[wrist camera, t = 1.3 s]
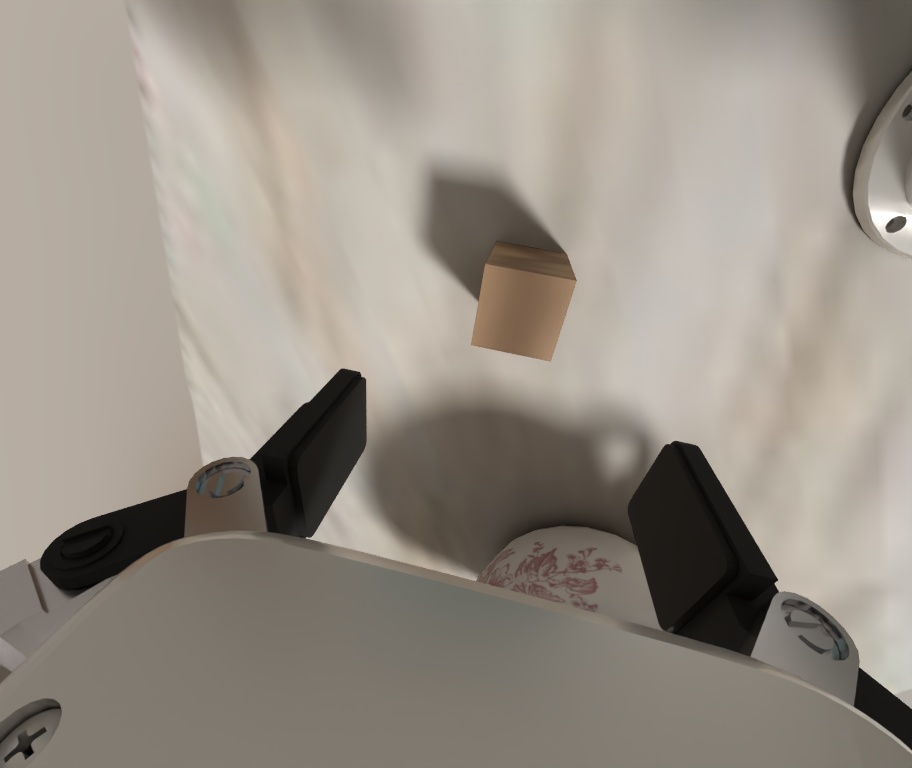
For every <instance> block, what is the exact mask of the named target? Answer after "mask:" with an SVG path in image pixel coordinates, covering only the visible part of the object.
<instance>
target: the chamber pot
mask: <svg viewBox="0 0 912 768" xmlns="http://www.w3.org/2000/svg"><path fill="white" fill-rule="evenodd" d="M477 582H480V583H484V584H488V585H492V586H496V587H500V588H503V589H507V590H511V591H515V592H519V593H522V594H526V595H530V596H534V597H538V598H542V599H545V600H549V601H553V602H557V603H561V604H564V605H568V606H572V607H576V608H579V609H583V610H587V611H590V612H594V613H598V614H602V615H605V616H609V617H613V618H617V619H620V620H624V621H628V622H632V623H635V624H639V625H643V626H647V627H650V628H654V629H658V630H661V631H664V630H662V629H661V627H660V626H659V623H658V620H657V616H656V613H655V609H654V605H653V602H652V598H651V594H650V591H649V587H648V584H647V580H646V576H645V573H644V569H643V566H642V562H641V558H640V555H639V551H638V547H637V546H636V545H634V544H632V543H631V542H629V541H627V540H625V539H623V538H621V537H619V536H617V535H615V534H613V533H609V532H605V531H601V530H597V529H593V528H589V527H579V526H555V527H548V528H542V529H536V530H534V531H532V532H529V533H527V534H525V535H522V536H520V537H518V538H516V539H514V540H512V541H511V542H510V543H509V544H508V545H507V546H506V547H505V548H504V549H503V550H501V551H500V552H499V553H498V555H497V556H496V557H495V558H494V559H493V560H492V561H491V562H490V564H489V565H488V566H487V567H486V568H485V569H484V570H483V571H482V573H481V574H480V575H479V576H478V578H477ZM665 632H666V631H665Z"/></svg>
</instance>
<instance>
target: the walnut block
mask: <svg viewBox="0 0 912 768" xmlns="http://www.w3.org/2000/svg"><path fill="white" fill-rule="evenodd" d="M576 281H577V280H576V278H575V275H574V272H573V270H572V267H571V264H570V261H569V259H568V256H567V254H565V253H559V252H554V251H548V250H542V249H537V248H531V247H526V246H520V245H514V244H509V243H503V242H498V241H497V242H496V244H495V246H494V248H493V249H492V251H491V253H490V255H489V257H488V259H487V261H486V263H485V267H484V273H483V279H482V285H481V290H480V296H479V302H478V308H477V314H476V319H475V325H474V331H473V337H472V342H471V345H473V346H478V347H483V348H488V349H493V350H497V351H502V352H507V353H512V354H517V355H522V356H527V357H531V358H536V359H541V360H546V361H551V359H552V356H553V353H554V350H555V347H556V343H557V340H558V337H559V334H560V331H561V328H562V325H563V322H564V319H565V316H566V312H567V309H568V306H569V303H570V300H571V297H572V294H573V291H574V288H575V284H576Z"/></svg>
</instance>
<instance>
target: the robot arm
mask: <svg viewBox="0 0 912 768" xmlns="http://www.w3.org/2000/svg"><path fill="white" fill-rule="evenodd" d="M903 111H904V112H903ZM853 200H854V207H855V214H856V216H857V218H858V220H859V222H860V224H861V227H862V229H863V231H864V232H865V233H866V234H867V235H868V236H869V237H870V238H871V239H872V240H873V241H874V242H875V243H876V244H878V245H879V246H881V247H883V248H885V249H886V250H888V251H890V252H892V253H895V254H899V255H902V256H905V257H909V258H912V71H911V72H910V74H909V75H908V76H907V77H906V78H905V79H904V80H903V82H902V83H901V84H900V85H899V86H898V87H897V89H896V90H895V92H894V93H893V95H892V96H891V98H890V99H889V101H888V102H887V104H886V105H885V107H884V108H883V110H882V111H881V112H880V114H879V115H878V117H877V119H876V121H875V123H874V125H873V127H872V129H871V131H870V133H869V135H868V137H867V139H866V141H865V143H864V145H863V148H862V151H861V154H860V157H859V160H858V164H857V167H856V170H855V177H854V186H853ZM366 440H367V434H366V379H365V378H364V377H361V373H360V372H357V371H353V370H348V369H340V370H339V371H338V372H337V373H336V374H335V376H334V377H333V378H332V379H331V380H330V381H329V382H328V383H327V384H326V385H325V386H324V387H323V388H322V389H321V390H320V391H319V392H318V393H317V394H316V396H315V397H314V398H313V399H312V400H311V401H310V402H307V403H305V404H303V405H302V406H301V407H300V408H299V409H298V410H297V411H296V412H295V413H294V414H293V415H292V416H291V417H290V418H289V419H288V420H287V422H286V423H285V424H284V425H283V426H282V427H281V428H280V429H279V430H278V431H277V432H276V433H275V434H274V435H273V436H272V437H271V438H270V439H269V440H268V441H267V442H266V443H265V444H264V445H263V446H262V447H261V448H260V449H259V450H258V451H257V453H256V454H255V455H254V456H253V457H252V458H251V459H250V460H249V459H246V458H243V457H230V458H223V459H220V460H217V461H214V462H211V463H210V464H208V465H206V466H204V467H203V468H201V469H200V470H199V471H197V472H196V473H195V474H194V476H193V477H192V478H191V479H190V481H189V484H188V487H187V489H186V490H183V491H180V492H176V493H173V494H170V495H167V496H163V497H160V498H157V499H153V500H150V501H147V502H144V503H141V504H137V505H134V506H131V507H127V508H124V509H121V510H118V511H115V512H111V513H108V514H105V515H101V516H98V517H95V518H92V519H90V520H87V521H84V522H82V523H79V524H78V525H76V526H74V527H72V528H70V529H69V530H67V531H65V532H64V533H63V534H61V535H60V536H59V537H58V538H56V539H55V540H54V541H53V542H52V543H51V544H50V545H49V547H48V548H47V549H46V550H45V551H44V553H43V555H42V557H41V558H40V559H38V560H36V561H34V562H32V563H29V562H28V561H27V560H26V559H24V560H22V561H20V562H18V563H16V564H14V565H12V566H10V567H8V568H6V569H4V570H2V571H0V768H912V709H911V708H909V707H908V706H907V705H906V704H905V703H903V702H902V701H901V700H900V699H898V698H897V697H896V696H895V695H893V694H892V693H891V692H890V691H888V690H887V689H886V688H885V687H883V686H882V685H881V684H879V683H878V682H877V681H876V680H874V679H873V678H872V677H871V676H869V675H868V674H867V673H866V672H864V671H863V670H862V669H861V668H859V662H860V661H859V654H858V650H857V648H856V646H855V644H854V642H853V640H852V639H851V637H850V636H849V634H848V633H847V632H846V630H845V629H844V628H843V627H842V626H841V625H840V624H839V623H838V622H837V621H836V620H835V619H834V618H833V617H832V616H831V615H830V614H829V613H828V612H826V611H825V610H824V609H823V608H821V607H820V606H819V605H817V604H815V603H814V602H812V601H810V600H809V599H807V598H805V597H803V596H800V595H798V594H795V593H791V592H780V593H779V591H778V589H777V588H776V586H775V584H774V583H775V582H776V581H778V579H777V577H776V576H775V574H774V572H773V571H772V569H771V567H770V565H769V564H768V562H767V560H766V559H765V557H764V555H763V554H762V552H761V550H760V549H759V547H758V545H757V544H756V542H755V540H754V539H753V537H752V535H751V534H750V532H749V530H748V529H747V527H746V525H745V524H744V522H743V520H742V519H741V517H740V515H739V513H738V512H737V510H736V508H735V507H734V505H733V503H732V502H731V500H730V498H729V497H728V495H727V493H726V492H725V490H724V488H723V487H722V485H721V483H720V482H719V480H718V478H717V477H716V475H715V473H714V472H713V470H712V468H711V466H710V465H709V463H708V461H707V460H706V458H705V456H704V455H703V453H702V451H701V450H700V448H699V447H698V446H696V445H693V444H688V443H683V442H679V441H674V442H672V443H671V444H666V445H665V446H664V447H663V449H662V450H661V452H660V453H659V455H658V457H657V458H656V460H655V462H654V463H653V465H652V466H651V468H650V470H649V471H648V473H647V474H646V476H645V478H644V479H643V481H642V482H641V484H640V486H639V487H638V489H637V490H636V492H635V494H634V495H633V497H632V499H631V500H630V502H629V505H628V515H629V519H630V522H631V526H632V529H633V533H634V537H635V540H636V544H637V547H638V551H639V555H640V558H641V562H642V566H643V569H644V573H645V576H646V580H647V584H648V587H649V591H650V594H651V598H652V602H653V605H654V609H655V613H656V616H657V620H658V623H659V626H660V627H661V629H662V630H664V631H661V630H658V629H654V628H650V627H647V626H643V625H639V624H635V623H632V622H628V621H624V620H620V619H617V618H613V617H609V616H605V615H602V614H598V613H594V612H590V611H587V610H583V609H579V608H576V607H572V606H568V605H564V604H561V603H557V602H553V601H549V600H545V599H542V598H538V597H534V596H530V595H526V594H522V593H519V592H515V591H511V590H507V589H503V588H500V587H496V586H492V585H488V584H484V583H480V582H477V581H473V580H469V579H465V578H461V577H457V576H454V575H450V574H446V573H442V572H438V571H434V570H430V569H426V568H423V567H419V566H415V565H411V564H407V563H403V562H399V561H395V560H391V559H387V558H383V557H380V556H376V555H372V554H368V553H364V552H360V551H356V550H352V549H347V548H343V547H339V546H335V545H331V544H326V543H322V542H318V541H314V540H310V539H305V538H306V537H309V538H310V537H312V536H313V535H314V533H315V532H316V530H317V528H318V527H319V525H320V523H321V522H322V520H323V518H324V516H325V515H326V513H327V511H328V510H329V508H330V506H331V505H332V503H333V501H334V500H335V498H336V496H337V495H338V493H339V491H340V490H341V488H342V486H343V485H344V483H345V481H346V480H347V478H348V476H349V474H350V473H351V471H352V469H353V468H354V466H355V464H356V463H357V461H358V459H359V458H360V456H361V454H362V453H363V451H364V449H365V446H366ZM665 631H666V632H665Z"/></svg>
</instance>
